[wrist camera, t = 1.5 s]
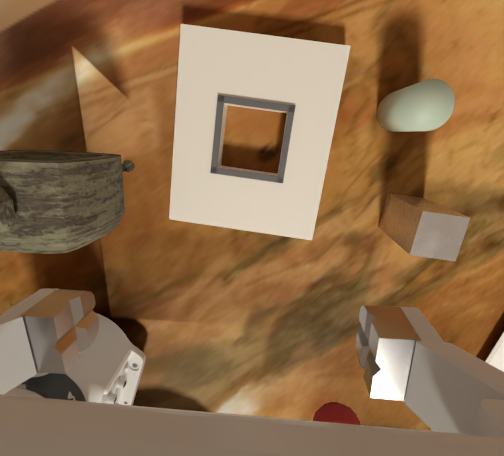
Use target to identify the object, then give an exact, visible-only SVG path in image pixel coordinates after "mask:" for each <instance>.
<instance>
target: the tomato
mask: <svg viewBox="0 0 504 456" xmlns="http://www.w3.org/2000/svg"><path fill="white" fill-rule="evenodd" d="M313 421H319V422H331V423H342V424H354V425H361V424H360V421H359V419H358V417H357V415H356V414H355V413H354V412H353V410H352V409H351V408H350V407H347V406H345V405H343V404H340V403H338V402H330V403H327V404H324V405H323V406H322V407H321V408H320V409H319V410H317V411H316V412H315V415H314V418H313Z"/></svg>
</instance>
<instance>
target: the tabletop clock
mask: <svg viewBox="0 0 504 456" xmlns="http://www.w3.org/2000/svg"><path fill="white" fill-rule="evenodd" d="M133 169H134V163H133V162H132V161H129V160H127V161H124V162H123V164H122V166H121V155H117V154H104V153H88V152H69V151H48V150H9V151H0V251H6V252H22V253H43V254H56V253H67V252H70V251H73V250H76V249H79V248H81V247H84V246H86V245H88V244H90V243H92V242H93V241H95V240H97V239H99V238H101V237H103V236H104V235H106V234H107V233H109V232H110V231H112V230H113V229H115V228H116V227H117V225H118V223H119V221H120V219H121V218H122V216H123V214H124V210H125V209H124V195H123V180H122V172H123V171H127V172H130V171H132V170H133Z"/></svg>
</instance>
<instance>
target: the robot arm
mask: <svg viewBox="0 0 504 456" xmlns="http://www.w3.org/2000/svg"><path fill="white" fill-rule="evenodd" d="M95 305H96V302H95V297H94V294H93V293H91V292H90V291H80V290H66V289H52V288H44V289H40V290H38V291H37V292H35V293H34V294H32V295H30V296H29V297H27V298H26V299H24V300H23V301H21V302H20V303H18V304H17V305H15V306H14V307H12V308H11V309H9V310H8V311H6V312H5V313H3V314H2V315H0V456H504V372H503V371H501V370H499V369H497V368H495V367H494V366H492V365H490V364H488V363H486V362H484V361H483V360H481V359H479V358H477V357H475V356H473V355H472V354H470V353H468V352H466V351H464V350H463V349H461V348H459V347H457V346H455V345H453V344H452V343H444V341H443V340H442V339H441V337H440V336H439V335H438V333H437V332H436V331H435V329H434V328H433V327H432V325H431V324H430V323H429V321H428V320H427V319H426V317H425V316H424V315H423V313H422V312H421V311H420V309H418V308H416V307H386V306H362V307H361V310H360V315H359V320H360V323H361V325H362V328H361V329H360V330H359V331H358V332H357V341H356V344H357V356H358V361H359V364H360V366H361V367H362V368H363V369H364V370H365V373H364V380H365V383H366V386H367V389H368V392H369V395H370V398H379V399H388V400H398V401H405V402H404V403H405V404H406V405H407V406H408V407H409V408H410V409H411V410H412V411H413V412H414V413H415V414H416V415H417V416H418V417H419V418H420V419H421V420H422V421H423V422H424V423H425V424H426V425H427V426H428V427H429V428H430V429H431V430H432V431H424V430H412V429H401V428H389V427H378V426H366V425H354V424H342V423H331V422H319V421H307V420H295V419H284V418H272V417H260V416H249V415H237V414H225V413H213V412H202V411H190V410H178V409H167V408H155V407H143V406H133V402H134V399H135V395H136V392H137V388H138V385H139V381H140V378H141V374H142V371H143V367H144V364H145V360H146V356H145V354H144V353H143V352H142V351H141V350H140V349H139V348H137V347H136V346H134V345H133V344H132V343H131V342H130V341H129V339H128V338H127V336H126V335H125V333H124V332H123V331H122V330H121V329H120V328H119V326H117V325H116V324H115V323H114V322H113V321H111V320H110V319H108V318H106V317H104V316H102V315H100V314H97V313H95V312H94V311H93V308H94V307H95ZM135 363H136V364H137V365H136V364H135Z"/></svg>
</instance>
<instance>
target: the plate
mask: <svg viewBox="0 0 504 456" xmlns="http://www.w3.org/2000/svg"><path fill="white" fill-rule="evenodd" d="M485 362H486V363H488V364H490V365H492V366H494V367H495V368H497V369H499V370H501V371H503V372H504V332H503V333H502V335H501V337H500V338H499V340H498V341H497V343H496V345H495V346H494V348H493V349H492V351H491V353H490V354H489V356H488V357H487V359H486V361H485Z"/></svg>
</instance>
